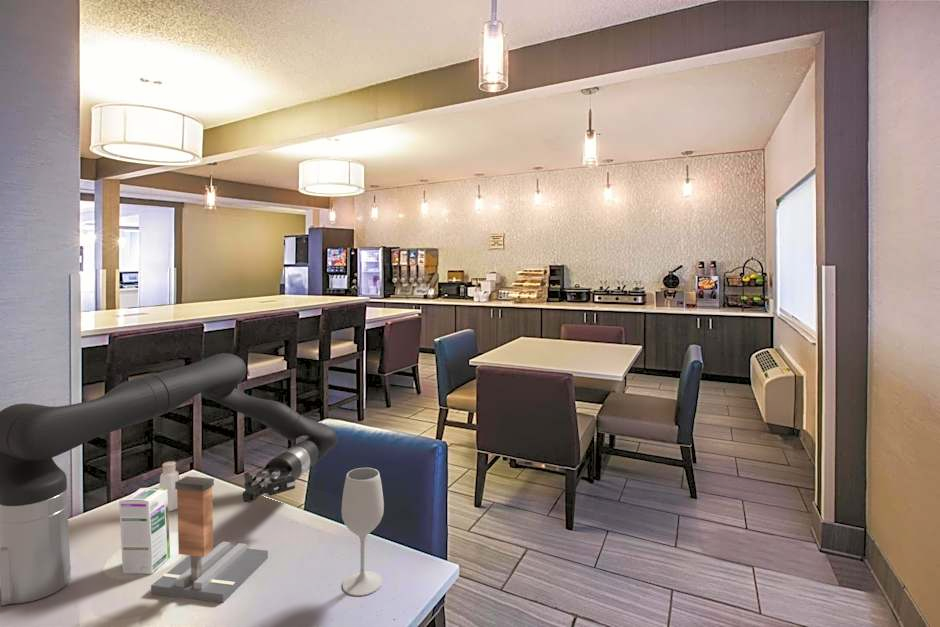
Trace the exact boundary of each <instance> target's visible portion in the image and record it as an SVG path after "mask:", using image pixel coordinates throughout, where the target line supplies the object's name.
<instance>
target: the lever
mask: <svg viewBox="0 0 940 627" xmlns="http://www.w3.org/2000/svg"><path fill="white" fill-rule="evenodd" d="M214 481H215V479H214V478H211V477H199V476H187V475H186V476H185V477H183V478H181V479H179V481H177V482H175V489H177V503H178V509H177V539H178V540H177V541H178V543H177V544H178V555H185V556H189V555H191V581H196V580H197V579H198V578H199V577H200V576H201V575H202V557H205V556H206V555H207V554H209V553H210V552H211V551H212V550H213V545H214V532H213V531H214V530H213V529H214V527H213V526H214V524H213V519H214V518H213V486H215V484H214V483H215V482H214Z"/></svg>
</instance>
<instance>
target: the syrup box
mask: <svg viewBox="0 0 940 627" xmlns="http://www.w3.org/2000/svg"><path fill="white" fill-rule="evenodd" d="M169 517H170V516H169V511H168V494H167V489H164V488H159V487H139V489H138V490H136V491H135V492H133V493H131V494H129V495H128V496H126V497H124V498H123V499H121V500H119V520H120V523H119V524H120V541H121V543H120V545H121V560H122V561H121V562H122V563H121V564H122V573H123V574H130V575H152V574H154V572H155V571H156V570H157V569H159V568H160V567H161V566H162V565H163V564H164V563H165V562H167V560H169V559H170V557H171V547H170V546H171V544H170V542H171V541H170V523H169V521H170V520H169Z"/></svg>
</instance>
